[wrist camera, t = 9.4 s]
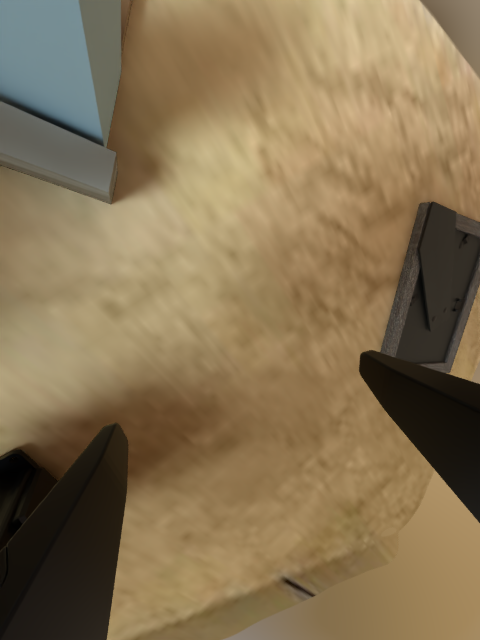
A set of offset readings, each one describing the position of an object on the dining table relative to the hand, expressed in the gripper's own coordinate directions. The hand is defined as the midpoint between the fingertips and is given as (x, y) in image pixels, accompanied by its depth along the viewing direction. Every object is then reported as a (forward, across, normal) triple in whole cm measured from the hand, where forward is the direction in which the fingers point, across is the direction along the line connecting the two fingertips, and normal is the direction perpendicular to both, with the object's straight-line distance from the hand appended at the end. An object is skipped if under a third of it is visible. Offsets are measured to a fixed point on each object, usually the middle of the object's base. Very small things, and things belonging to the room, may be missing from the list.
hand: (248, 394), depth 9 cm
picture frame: (+19, -29, +11) cm, 37 cm away
